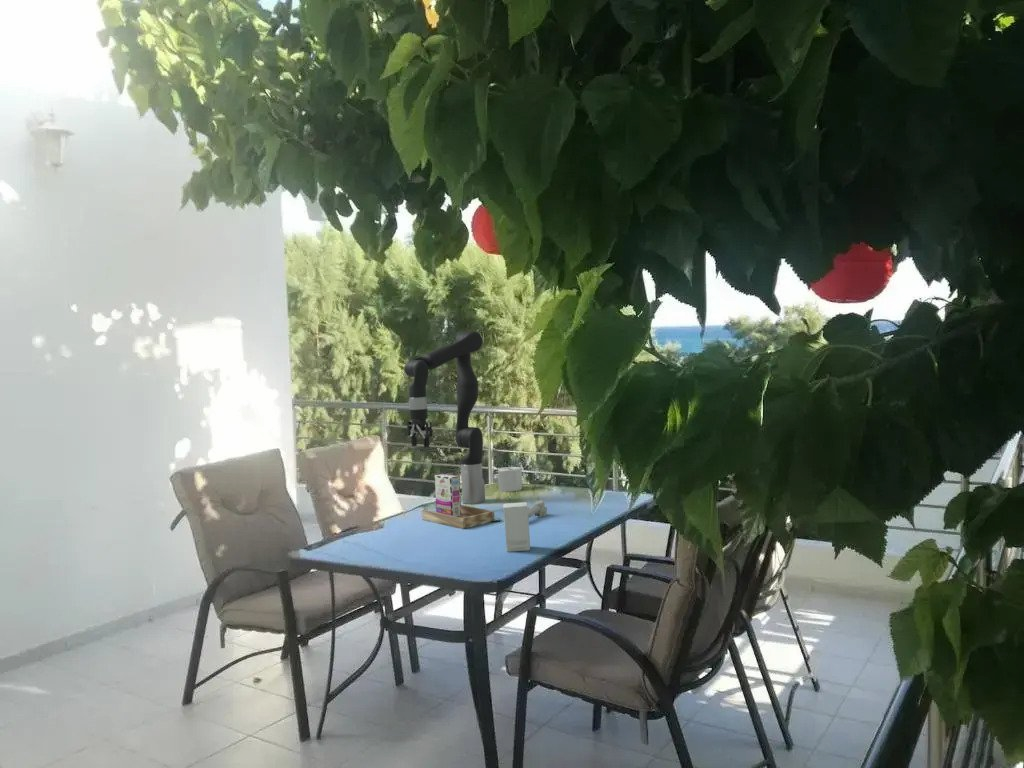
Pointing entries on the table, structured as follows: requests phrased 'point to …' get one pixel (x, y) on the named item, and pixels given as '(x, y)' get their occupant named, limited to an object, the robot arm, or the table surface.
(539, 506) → the grey long piece
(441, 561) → the table surface
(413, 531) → the table surface
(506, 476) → the toilet tissue
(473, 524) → the tray
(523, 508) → the skincare box
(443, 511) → the candy bar box
